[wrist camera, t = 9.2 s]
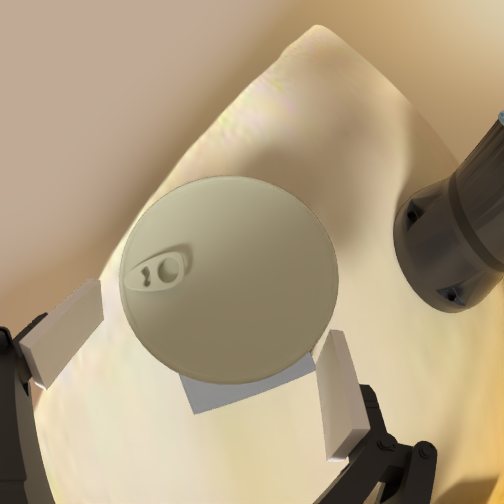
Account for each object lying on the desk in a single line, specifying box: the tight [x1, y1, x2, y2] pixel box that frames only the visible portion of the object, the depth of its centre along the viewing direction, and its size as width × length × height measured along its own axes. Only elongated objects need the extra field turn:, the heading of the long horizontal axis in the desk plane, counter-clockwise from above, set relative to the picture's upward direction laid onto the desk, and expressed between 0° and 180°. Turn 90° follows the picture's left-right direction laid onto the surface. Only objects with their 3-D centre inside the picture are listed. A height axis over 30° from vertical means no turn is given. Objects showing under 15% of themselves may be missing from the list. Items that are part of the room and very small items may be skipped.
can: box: [119, 175, 339, 385], centre depth 16 cm, size 9×9×12 cm
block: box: [179, 351, 316, 415], centre depth 23 cm, size 10×13×3 cm
